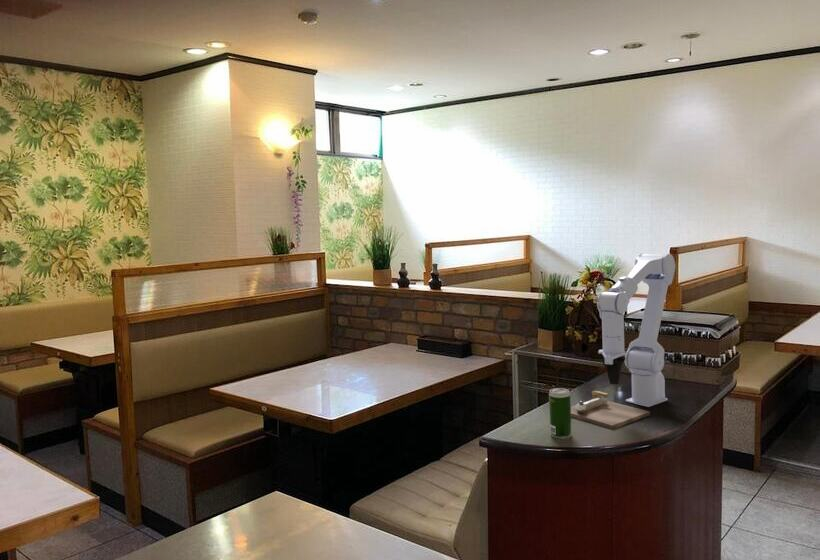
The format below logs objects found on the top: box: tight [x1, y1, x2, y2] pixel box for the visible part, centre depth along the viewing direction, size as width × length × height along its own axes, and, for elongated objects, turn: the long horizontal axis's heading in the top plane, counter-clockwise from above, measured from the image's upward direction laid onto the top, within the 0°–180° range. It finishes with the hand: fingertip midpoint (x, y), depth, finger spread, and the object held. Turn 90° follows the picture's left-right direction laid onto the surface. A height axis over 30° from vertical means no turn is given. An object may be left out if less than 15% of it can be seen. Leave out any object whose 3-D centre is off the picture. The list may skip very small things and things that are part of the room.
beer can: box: [548, 387, 572, 440], centre depth 169 cm, size 5×5×12 cm
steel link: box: [575, 396, 608, 413], centre depth 186 cm, size 12×3×3 cm, turn 128°
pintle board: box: [571, 390, 651, 430], centre depth 184 cm, size 16×18×4 cm
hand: (614, 383), depth 180 cm, fingers closed
